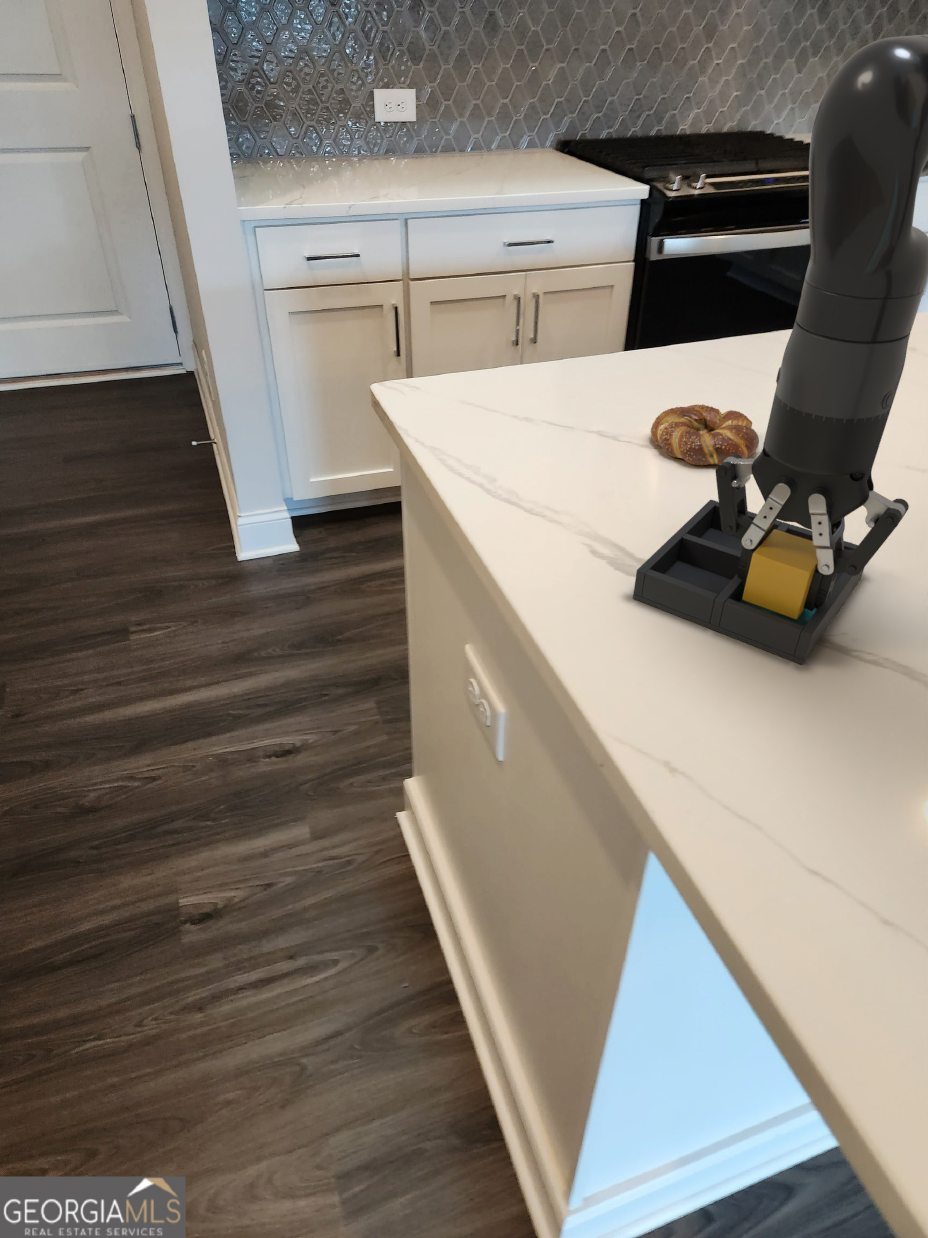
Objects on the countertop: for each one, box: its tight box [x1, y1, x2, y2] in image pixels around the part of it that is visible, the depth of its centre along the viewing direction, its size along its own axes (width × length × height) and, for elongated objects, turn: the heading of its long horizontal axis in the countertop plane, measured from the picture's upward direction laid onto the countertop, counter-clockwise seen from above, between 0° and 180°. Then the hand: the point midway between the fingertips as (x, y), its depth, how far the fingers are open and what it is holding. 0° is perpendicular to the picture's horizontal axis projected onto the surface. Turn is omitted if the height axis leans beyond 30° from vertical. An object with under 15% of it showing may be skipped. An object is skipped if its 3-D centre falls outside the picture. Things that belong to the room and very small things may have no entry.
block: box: [742, 530, 817, 619], centre depth 66 cm, size 4×4×4 cm
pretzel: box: [650, 404, 760, 466], centre depth 93 cm, size 12×11×4 cm
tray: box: [632, 499, 865, 666], centre depth 71 cm, size 15×15×3 cm
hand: (779, 592), depth 67 cm, fingers closed on block, 4 cm apart
